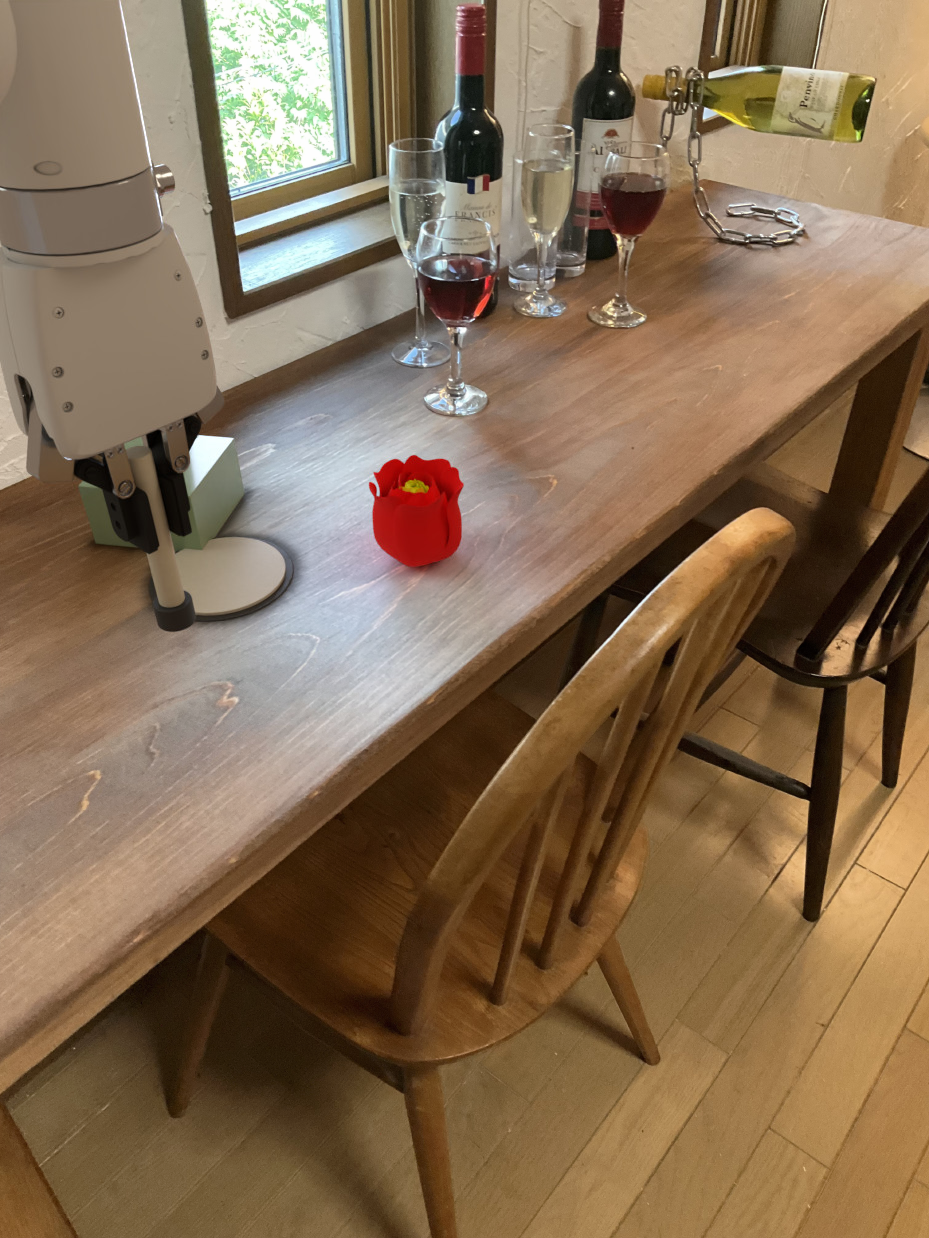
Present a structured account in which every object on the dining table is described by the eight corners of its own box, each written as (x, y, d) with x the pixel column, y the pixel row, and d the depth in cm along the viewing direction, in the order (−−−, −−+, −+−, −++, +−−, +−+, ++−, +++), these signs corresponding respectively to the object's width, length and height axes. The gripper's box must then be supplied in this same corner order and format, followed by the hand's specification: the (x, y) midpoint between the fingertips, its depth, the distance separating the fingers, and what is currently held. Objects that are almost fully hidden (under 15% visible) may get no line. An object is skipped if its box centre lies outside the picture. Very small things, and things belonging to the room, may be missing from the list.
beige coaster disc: (124, 613, 78) (122, 609, 77) (184, 532, 87) (183, 527, 86) (265, 629, 76) (264, 624, 76) (311, 544, 85) (310, 539, 85)
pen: (151, 629, 60) (106, 460, 53) (167, 606, 62) (126, 440, 55) (187, 634, 60) (147, 464, 52) (202, 611, 62) (165, 443, 54)
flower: (393, 525, 87) (387, 446, 82) (475, 536, 86) (475, 457, 81) (364, 575, 81) (356, 493, 76) (452, 587, 80) (450, 506, 75)
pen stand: (95, 544, 86) (77, 485, 82) (145, 485, 93) (131, 429, 90) (203, 554, 84) (189, 496, 80) (245, 494, 92) (234, 438, 88)
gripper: (168, 167, 52) (222, 465, 64) (-125, 234, 43) (0, 570, 54) (258, 191, 48) (298, 504, 60) (-43, 271, 39) (73, 624, 50)
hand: (156, 534), depth 57 cm, fingers closed on pen, 1 cm apart
